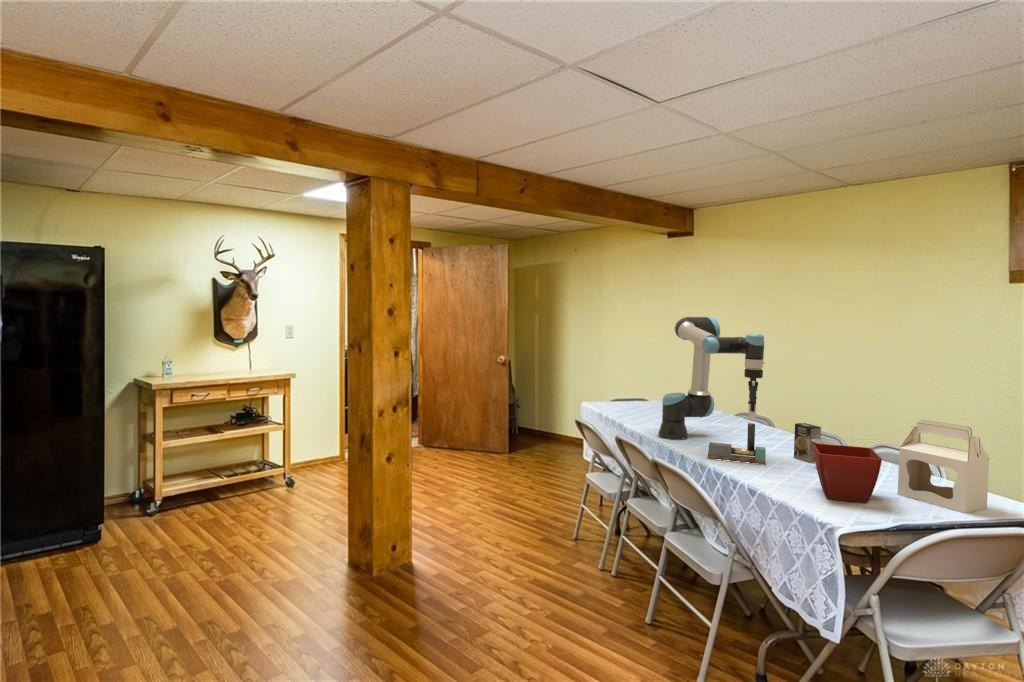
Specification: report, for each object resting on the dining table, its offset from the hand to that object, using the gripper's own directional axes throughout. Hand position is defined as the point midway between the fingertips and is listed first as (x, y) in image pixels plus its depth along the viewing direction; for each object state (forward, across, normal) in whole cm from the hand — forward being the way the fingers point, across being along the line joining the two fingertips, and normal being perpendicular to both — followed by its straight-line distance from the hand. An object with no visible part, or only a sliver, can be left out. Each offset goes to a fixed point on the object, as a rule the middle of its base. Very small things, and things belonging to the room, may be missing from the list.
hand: (751, 416), depth 251 cm
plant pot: (+20, -40, -31) cm, 54 cm away
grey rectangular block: (+19, -1, +13) cm, 23 cm away
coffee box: (+21, +14, -24) cm, 34 cm away
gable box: (+20, -32, -62) cm, 72 cm away
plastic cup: (+20, -1, -30) cm, 36 cm away
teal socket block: (+19, -1, -4) cm, 19 cm away
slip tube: (+18, -1, +2) cm, 18 cm away
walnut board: (+20, -1, +6) cm, 21 cm away
